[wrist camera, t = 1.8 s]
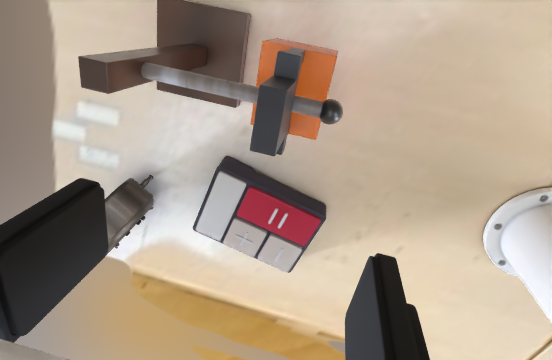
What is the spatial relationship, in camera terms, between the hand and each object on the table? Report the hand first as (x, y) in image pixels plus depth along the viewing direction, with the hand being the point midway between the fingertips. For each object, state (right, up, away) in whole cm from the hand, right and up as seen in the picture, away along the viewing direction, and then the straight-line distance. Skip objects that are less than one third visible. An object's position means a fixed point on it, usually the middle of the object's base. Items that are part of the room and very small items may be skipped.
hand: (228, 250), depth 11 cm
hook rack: (-1, +16, +26) cm, 30 cm away
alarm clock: (-18, 0, +37) cm, 41 cm away
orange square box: (+4, +12, +21) cm, 25 cm away
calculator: (0, -2, +34) cm, 34 cm away
